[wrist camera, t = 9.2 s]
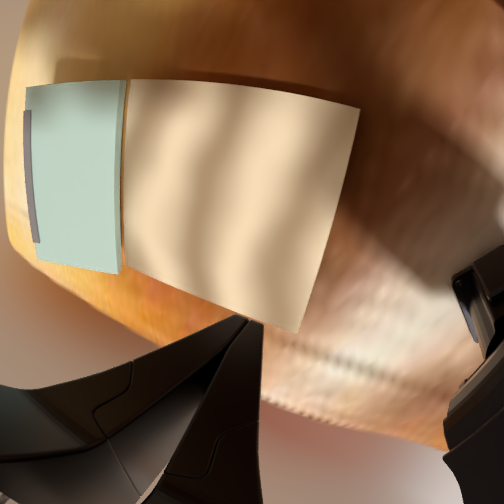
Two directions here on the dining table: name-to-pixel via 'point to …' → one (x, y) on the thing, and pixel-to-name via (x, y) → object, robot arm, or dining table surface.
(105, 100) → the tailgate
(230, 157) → the beige flat square pad
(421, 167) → the dining table surface
